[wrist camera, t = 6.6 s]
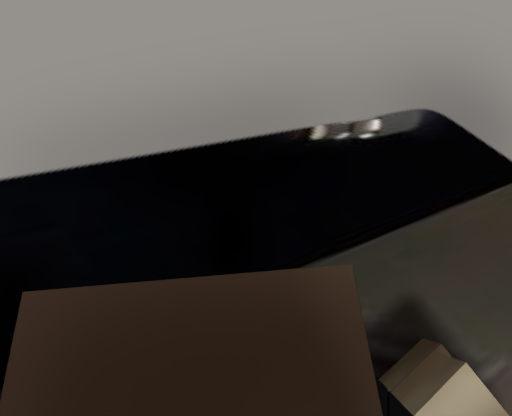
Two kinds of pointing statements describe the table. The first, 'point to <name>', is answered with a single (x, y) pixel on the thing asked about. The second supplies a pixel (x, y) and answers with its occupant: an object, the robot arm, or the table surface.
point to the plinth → (439, 384)
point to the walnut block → (195, 348)
